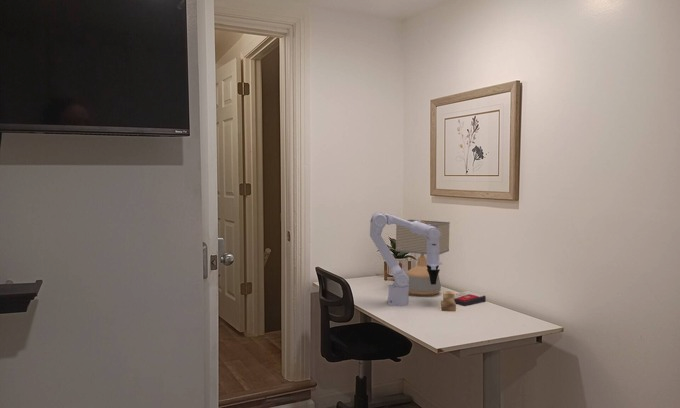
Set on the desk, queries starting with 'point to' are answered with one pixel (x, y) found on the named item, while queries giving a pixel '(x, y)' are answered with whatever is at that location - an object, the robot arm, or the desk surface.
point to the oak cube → (448, 297)
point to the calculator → (468, 298)
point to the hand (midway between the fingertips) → (432, 282)
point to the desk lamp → (418, 244)
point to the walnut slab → (448, 307)
